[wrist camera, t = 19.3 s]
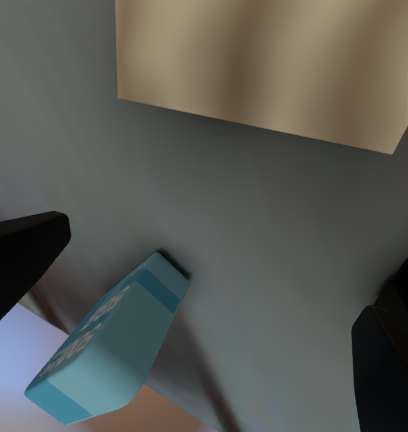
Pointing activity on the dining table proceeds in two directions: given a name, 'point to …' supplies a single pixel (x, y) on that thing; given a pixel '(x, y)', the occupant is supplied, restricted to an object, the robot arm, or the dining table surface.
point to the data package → (111, 345)
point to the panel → (272, 64)
